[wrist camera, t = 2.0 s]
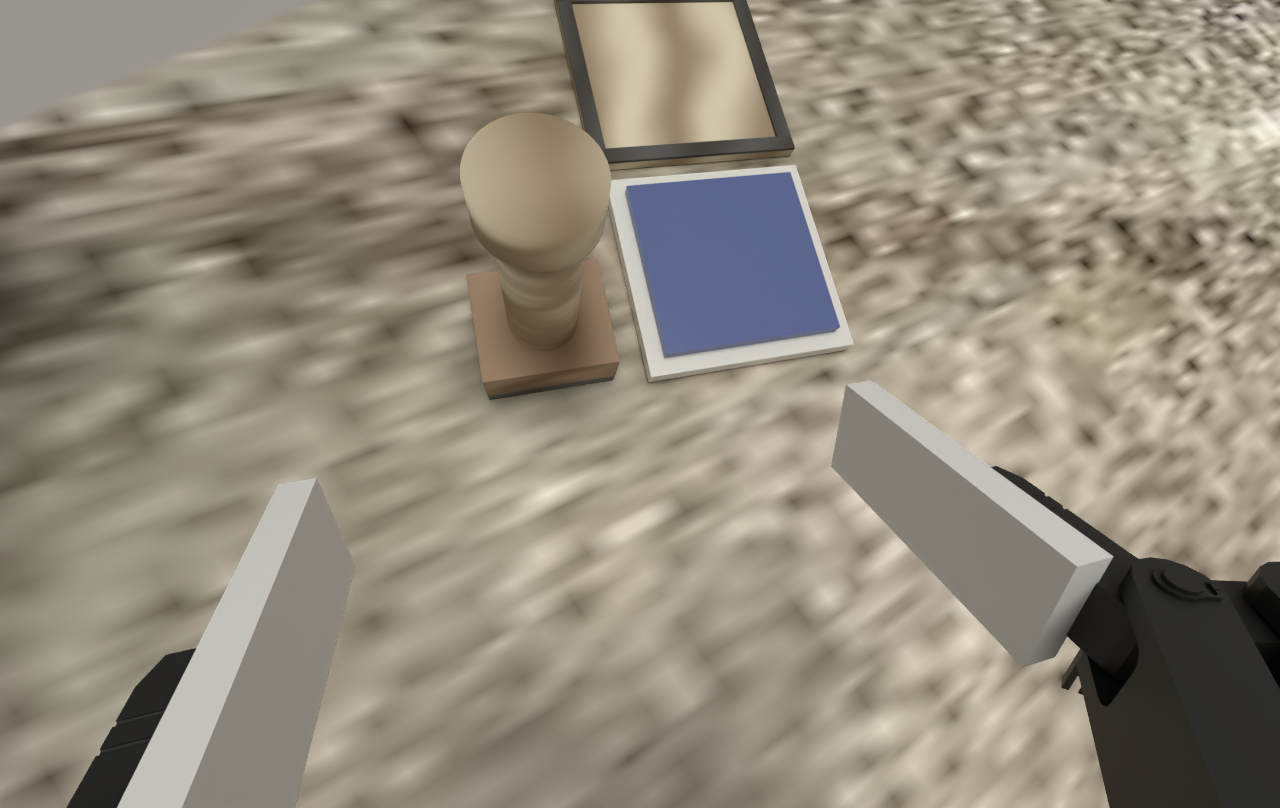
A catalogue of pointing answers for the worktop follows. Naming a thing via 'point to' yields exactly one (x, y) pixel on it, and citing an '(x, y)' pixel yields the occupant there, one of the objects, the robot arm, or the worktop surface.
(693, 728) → the worktop surface
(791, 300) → the ink pad
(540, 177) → the stamp
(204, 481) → the worktop surface
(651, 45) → the marked board
